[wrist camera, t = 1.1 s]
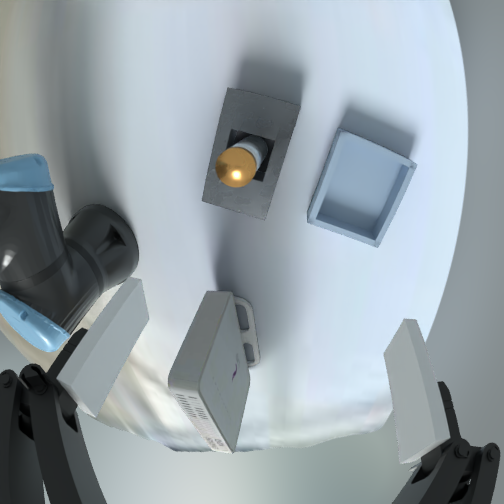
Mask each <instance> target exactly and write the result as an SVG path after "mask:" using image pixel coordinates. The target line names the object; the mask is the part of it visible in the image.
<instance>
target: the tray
mask: <svg viewBox="0 0 504 504" xmlns="http://www.w3.org/2000/svg"><path fill="white" fill-rule="evenodd" d="M416 166H417V164H416V163H414V162H413V161H411V160H410V159H408V158H406V157H404V156H402V155H400V154H398V153H396V152H394V151H392V150H389V149H387V148H385V147H383V146H381V145H379V144H376V143H374V142H372V141H370V140H367V139H365V138H363V137H360V136H358V135H355V134H353V133H351V132H348V131H345V130H343V129H340V128H338V130H337V133H336V135H335V138H334V141H333V144H332V147H331V150H330V152H329V155H328V158H327V161H326V164H325V166H324V169H323V172H322V174H321V177H320V180H319V183H318V185H317V188H316V191H315V193H314V196H313V199H312V201H311V204H310V206H309V209H308V212H307V223H310V224H313V225H315V226H318V227H321V228H324V229H327V230H330V231H333V232H336V233H338V234H341V235H344V236H347V237H350V238H352V239H355V240H358V241H361V242H363V243H366V244H369V245H372V246H374V247H377V248H378V247H379V245H380V243H381V241H382V239H383V237H384V235H385V233H386V231H387V229H388V227H389V225H390V223H391V221H392V219H393V217H394V215H395V213H396V211H397V209H398V207H399V205H400V203H401V200H402V198H403V196H404V194H405V192H406V190H407V187H408V185H409V183H410V181H411V178H412V176H413V174H414V171H415V169H416Z"/></svg>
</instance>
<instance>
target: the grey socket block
mask: <svg viewBox="0 0 504 504" xmlns="http://www.w3.org/2000/svg"><path fill="white" fill-rule="evenodd" d="M300 108H301V106H298V105H295V104H292V103H289V102H285V101H282V100H278V99H275V98H271V97H267V96H264V95H260V94H256V93H252V92H247V91H243V90H239V89H233V88H227V92H226V96H225V100H224V104H223V108H222V112H221V116H220V120H219V124H218V128H217V132H216V136H215V141H214V145H213V149H212V154H211V158H210V163H209V168H208V172H207V177H206V182H205V187H204V192H203V197H202V201H203V202H206V203H210V204H213V205H217V206H220V207H223V208H226V209H230V210H233V211H236V212H240V213H243V214H246V215H249V216H252V217H256V218H259V219H262V220H265V218H266V215H267V212H268V209H269V205H270V202H271V199H272V196H273V193H274V190H275V187H276V183H277V180H278V177H279V174H280V171H281V168H282V165H283V161H284V158H285V155H286V152H287V149H288V146H289V142H290V139H291V136H292V133H293V130H294V127H295V124H296V120H297V117H298V114H299V111H300ZM237 130H238V131H242V132H246V133H249V134H253V135H257V136H260V137H264V138H267V139H271V140H274V141H275V143H274V147H273V150H272V153H271V157H270V160H269V163H268V167H267V170H266V173H264V172H261V171H258V170H257V171H256V174H255V175H254V177H253V179H252V180H251V181H250V182H249V183H248V184H247V185H245V186H242V187H230V186H228V185H226V184H224V183H223V182H222V181H221V180H220V179H219V178H218V176H217V173H216V169H215V165H216V161H217V158H218V157H219V155H220V154H221V153H223V152H224V151H225V150H227V149H229V148H231V147H232V146H234V142H235V138H236V134H237Z"/></svg>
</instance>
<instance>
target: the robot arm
mask: <svg viewBox="0 0 504 504" xmlns="http://www.w3.org/2000/svg"><path fill="white" fill-rule="evenodd" d="M53 189H54V185H53V184H52V183H51V178H50V174H49V169H48V164H47V161H46V159H45V158H44V157H43V156H41V155H39V154H25V155H19V156H13V157H9V158H4V159H0V285H1V289H0V312H1V314H2V315H3V317H4V318H5V319H6V320H7V322H8V323H9V324H10V325H11V326H12V327H13V328H14V329H15V330H16V331H17V332H18V333H19V334H20V335H21V336H22V337H23V338H24V339H26V340H27V341H28V342H29V343H31V344H32V345H34V346H35V347H37V348H39V349H41V350H43V351H46V352H54V351H56V350H57V349H58V348H59V347H60V346H61V345H62V344H63V342H64V341H65V340H66V339H67V338H69V337H70V335H71V334H72V332H73V331H74V329H75V328H76V327H77V325H78V324H79V323H80V321H81V320H82V319H83V317H84V316H85V315H86V313H87V312H88V311H89V309H90V308H91V307H92V306H93V304H94V303H95V302H96V300H97V299H98V298H99V297H100V296H101V294H102V293H104V292H105V291H107V290H109V289H111V288H112V287H114V286H116V285H119V284H121V283H123V282H124V281H125V282H124V283H123V284H122V286H121V287H120V288H119V290H118V291H117V292H116V293H115V295H114V296H113V297H112V299H111V300H110V301H109V303H108V304H107V305H106V307H105V308H104V309H103V311H102V312H101V313H100V315H99V316H98V317H97V319H96V320H95V322H94V323H93V324H92V326H91V327H90V329H89V330H87V329H84V328H81V329H79V330H78V331H77V332H75V333H74V334H73V335H72V337H71V338H70V339H69V341H68V343H67V344H66V345H65V346H64V348H63V350H62V351H61V352H60V354H59V355H58V357H57V358H56V360H55V361H54V363H53V364H52V366H51V367H50V369H49V370H48V372H47V373H45V371H44V370H43V369H42V368H41V366H40V365H37V364H29V365H27V366H25V367H24V368H23V369H22V371H21V372H20V375H19V377H18V376H17V374H16V373H15V372H14V371H13V370H10V369H9V370H5V371H3V372H2V373H1V374H0V504H45V498H44V489H43V481H44V484H45V487H46V491H47V494H48V497H49V501H50V503H51V504H107V503H106V500H105V498H104V496H103V493H102V491H101V488H100V486H99V483H98V481H97V478H96V475H95V473H94V470H93V467H92V464H91V461H90V458H89V455H88V452H87V449H86V445H85V442H84V438H83V435H82V431H81V427H80V423H79V419H78V415H77V412H76V408H77V406H79V407H80V408H81V410H82V411H84V412H86V413H88V414H90V415H92V416H94V417H97V415H98V413H99V411H100V409H101V407H102V405H103V403H104V401H105V399H106V397H107V395H108V393H109V391H110V389H111V388H112V386H113V384H114V382H115V380H116V378H117V376H118V374H119V372H120V370H121V369H122V367H123V365H124V363H125V361H126V359H127V357H128V356H129V354H130V352H131V350H132V348H133V347H134V345H135V343H136V341H137V339H138V338H139V336H140V334H141V332H142V331H143V329H144V327H145V325H146V324H147V322H148V320H149V314H148V310H147V305H146V300H145V296H144V291H143V286H142V280H141V279H137V278H132V277H130V276H131V274H132V273H133V272H134V271H135V269H136V267H137V264H138V259H139V253H138V247H137V243H136V240H135V238H134V235H133V233H132V231H131V230H130V228H129V227H128V225H127V224H126V223H125V221H124V220H123V219H122V218H121V217H120V216H119V215H118V214H116V213H115V212H114V211H112V210H111V209H109V208H107V207H104V206H101V205H88V206H86V207H84V208H83V209H81V210H80V211H78V212H77V213H76V214H75V215H74V216H73V217H72V218H71V220H70V221H69V224H68V225H67V226H66V228H65V229H64V231H62V227H61V223H60V219H59V215H58V211H57V207H56V202H55V197H54V192H53ZM384 359H385V364H386V369H387V374H388V379H389V385H390V390H391V396H392V403H393V409H394V416H395V424H396V431H397V441H398V451H399V463H400V464H402V463H409V462H414V461H416V460H417V459H419V458H421V462H420V463H419V464H417V465H415V466H413V467H412V468H411V469H410V470H409V471H412V470H414V469H415V471H414V472H413V474H412V476H411V477H410V479H409V480H408V482H407V483H406V485H405V486H404V487H403V489H402V490H401V492H400V493H399V494H398V496H397V497H396V499H395V500H394V502H393V503H392V504H491V500H492V496H493V492H494V488H495V483H496V478H497V473H498V467H499V461H500V450H499V447H498V446H497V445H496V444H495V443H489V444H487V445H486V446H484V447H474V446H470V444H469V443H468V442H467V441H466V440H465V439H462V438H461V436H460V432H459V427H458V423H457V419H456V414H455V410H454V409H453V403H452V401H451V400H452V399H451V395H450V392H449V389H448V388H447V386H446V385H445V383H444V382H443V381H442V382H437V380H436V376H435V373H434V369H433V367H432V363H431V360H430V357H429V354H428V351H427V348H426V345H425V342H424V339H423V336H422V333H421V331H420V328H419V325H418V323H417V320H415V319H404V320H403V322H402V323H401V325H400V327H399V329H398V330H397V332H396V334H395V335H394V337H393V339H392V341H391V342H390V344H389V345H388V347H387V349H386V350H385V352H384ZM470 479H471V481H470ZM469 481H470V485H469Z"/></svg>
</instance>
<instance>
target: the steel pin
mask: <svg viewBox="0 0 504 504" xmlns="http://www.w3.org/2000/svg"><path fill="white" fill-rule="evenodd" d="M267 152H268V148H267V144H266V142H265V141H264V140H263V139H262V138H261V137H258V136H254V135H251V136H247V137H245V138H244V139H242V140H241V141H239V142H238V143H236V144H235V145H234V146H232V147H231V148H229V149H227V150H225V151H224V152H223V153H221V154H220V155H219V157H218V158H217V161H216V165H215V169H216V173H217V176H218V178H219V179H220V180H221V181H222V182H223V183H224V184H226V185H228V186H230V187H242V186H245V185H247V184H248V183H249V182H250V181H251V180H252V179H253V177H254V175H255V174H256V171H257V170H258V168H259V166H260V165H261V163H262V162H263V160H264V159H265V157H266V155H267Z"/></svg>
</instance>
